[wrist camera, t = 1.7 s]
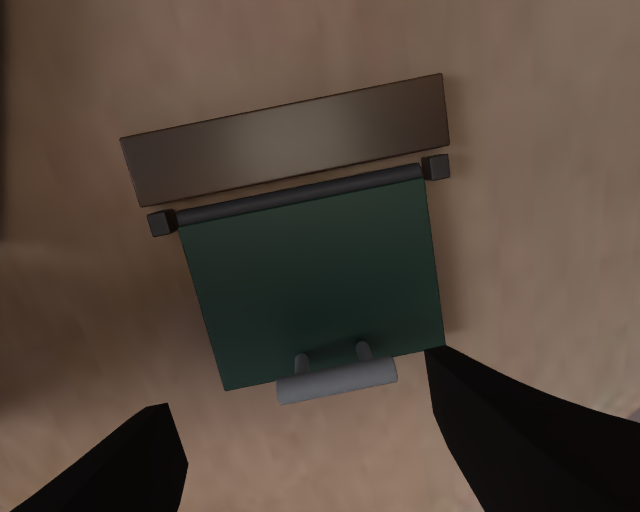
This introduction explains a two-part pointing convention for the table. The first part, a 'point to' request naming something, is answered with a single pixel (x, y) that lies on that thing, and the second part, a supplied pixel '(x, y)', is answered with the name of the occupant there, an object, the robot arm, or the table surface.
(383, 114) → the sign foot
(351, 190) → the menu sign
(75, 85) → the table surface
